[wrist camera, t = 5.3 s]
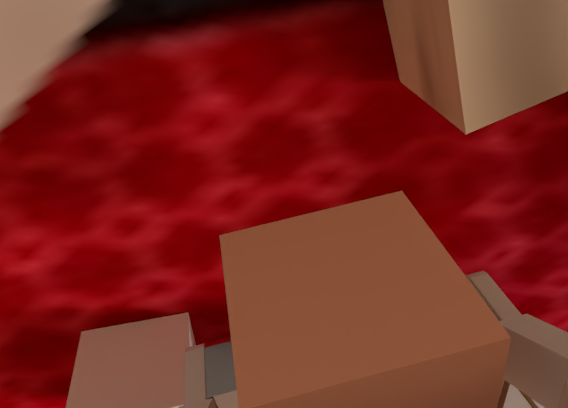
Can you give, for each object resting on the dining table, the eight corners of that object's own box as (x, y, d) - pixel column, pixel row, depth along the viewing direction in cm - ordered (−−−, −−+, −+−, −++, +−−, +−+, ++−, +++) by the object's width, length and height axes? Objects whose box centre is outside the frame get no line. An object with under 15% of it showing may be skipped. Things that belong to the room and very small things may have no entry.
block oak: (512, -120, 15) (640, -127, 11) (519, 29, 18) (622, 67, 14) (369, -56, 15) (443, -40, 11) (399, 80, 18) (465, 134, 14)
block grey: (188, 310, 22) (192, 403, 18) (202, 374, 25) (208, 466, 21) (81, 330, 22) (61, 430, 18) (108, 393, 24) (96, 492, 20)
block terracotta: (401, 190, 12) (511, 337, 8) (403, 313, 15) (485, 467, 11) (219, 234, 12) (238, 410, 8) (256, 352, 15) (284, 525, 11)
